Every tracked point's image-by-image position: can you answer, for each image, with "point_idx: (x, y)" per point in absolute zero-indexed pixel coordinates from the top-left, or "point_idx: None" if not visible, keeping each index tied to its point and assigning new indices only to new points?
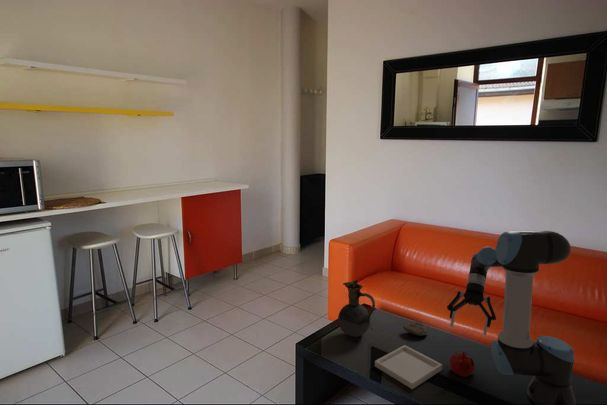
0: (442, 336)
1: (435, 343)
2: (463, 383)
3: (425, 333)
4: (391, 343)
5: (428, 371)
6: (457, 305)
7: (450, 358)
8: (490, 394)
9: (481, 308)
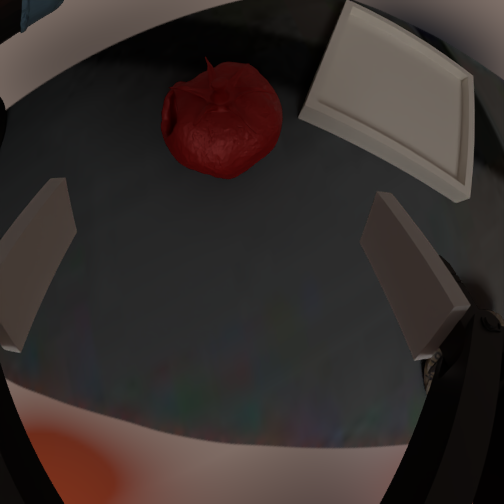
0: (362, 406)
1: (379, 324)
2: (202, 72)
3: (436, 352)
4: (494, 228)
5: (333, 51)
6: (480, 405)
7: (281, 111)
8: (111, 63)
9: (27, 481)
